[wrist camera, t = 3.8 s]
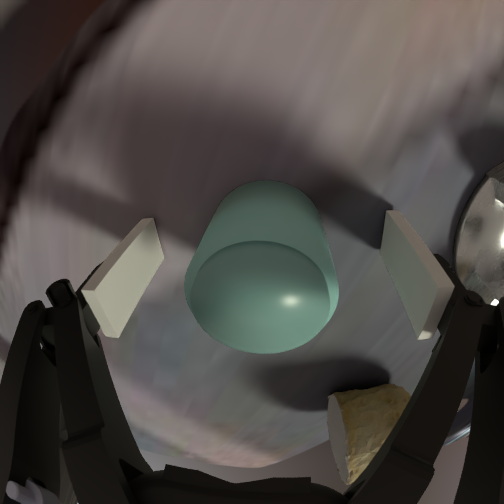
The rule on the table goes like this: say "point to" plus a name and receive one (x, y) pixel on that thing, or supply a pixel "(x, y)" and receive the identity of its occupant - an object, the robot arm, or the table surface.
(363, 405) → the coral
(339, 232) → the table surface
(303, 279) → the teal rounded cylinder
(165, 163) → the table surface
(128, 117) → the table surface
